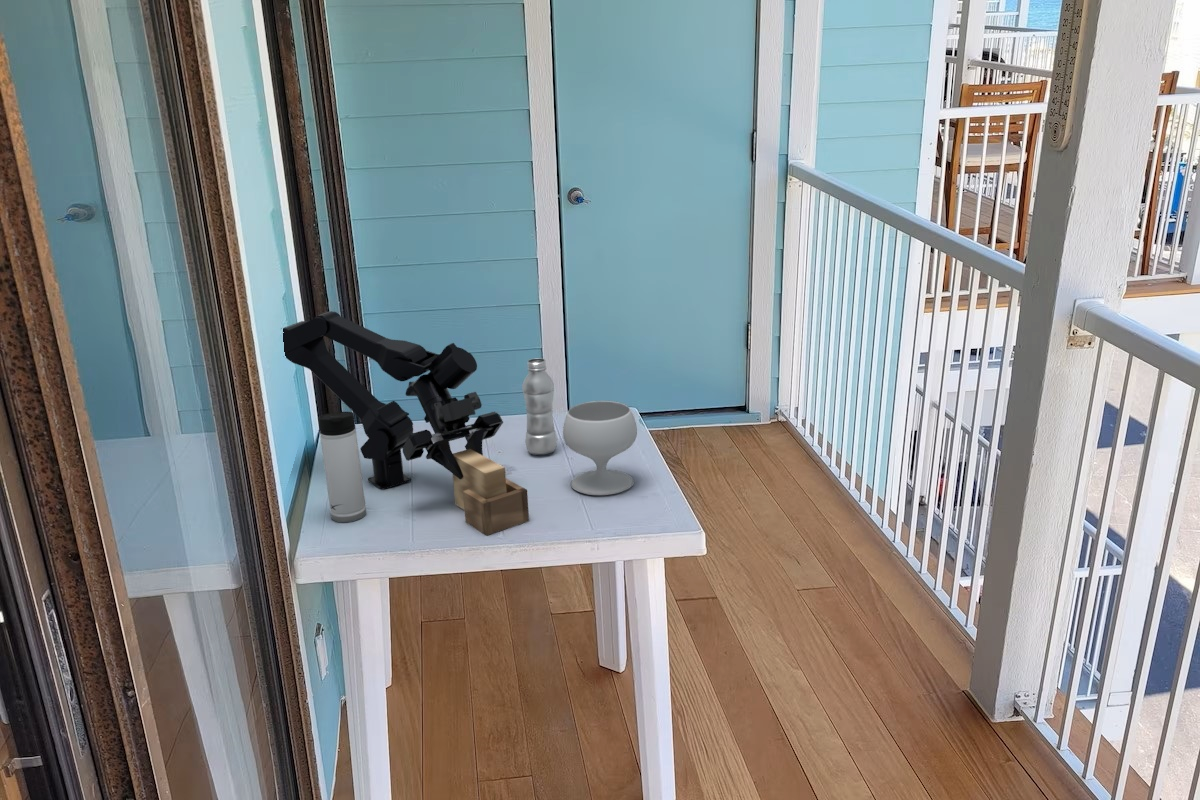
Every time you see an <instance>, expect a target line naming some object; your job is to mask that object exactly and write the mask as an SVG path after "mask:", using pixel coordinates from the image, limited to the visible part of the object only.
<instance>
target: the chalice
mask: <svg viewBox="0 0 1200 800" xmlns="http://www.w3.org/2000/svg"><path fill="white" fill-rule="evenodd" d="M637 436H638V426H637V421H636V418H635V416H634V413H633V412H632V410H631V408H630V407H629V406H628V405H627V404H624V403H622V402H618V401H610V400H595V401H587V402H583V403H582V402H581V403H579V404H576V405H574V406H572V407H571V408H569V409H568V411H567V413H566V415H565V418H564V422H563V427H562V438H563V441H564V444H565V445H566V446H567V447H568V448H569V449H570V450H571V451H573V452H574V453H576V454H578V455H580V456H584V457H586V458H589V459H590V460H592V461H593V462H594V463H595V465H596V469H594V470H590V471H589V470H588V471H586V472H582V473H580V474H578V475H577V476H575V477H574V478H572V480H571V482H570V487H571V489H572V490H574V491H576V492H578V493H580V494H585V495H590V496H610V495H616V494H620V493H622V492H626V491H627V490H629V489H630V488H631V487H633V485H634V483H635V481H634V478H633V476H631V475H630V474H628V473H625V472H623V471H620V470H613V469H607V466H608V463H609V461H610V460H611V459H612V458H615V457H616V456H618V455H620V454H621V453H625V451H628V449H630V448H631V447H632V446H633V445H634V443H635V442H636V438H637Z"/></svg>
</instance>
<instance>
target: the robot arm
mask: <svg viewBox="0 0 1200 800" xmlns="http://www.w3.org/2000/svg"><path fill="white" fill-rule="evenodd" d="M282 328H283V332H284V333H283V342H284V352H285V356H286V358H285V359H287V360H288V361H289V362H290V363H292V364H295V365H298V366H301V367H303V368H306V369H308V370H310V371H311V372H312V374H314V376H316V377H317V378H318V379H319V380H320V381H321V382H322V383H323V384H324V385H325V386H326V387H327V388H328V389H329V390H330V391H331V392H332V393H334V395H335V396H336V397H337V398H339V400H340V401H341V402H343V403H344V404H345V406H346V407H348V409H350V410H351V412H353V413H354V414H355V415H356V416H357V417H358V418H359V420H360V421H361V424H362V428H363V431H364V434H365V435H366V436H367V438H368V439H367V440H366V442H364V443H363V445H361V447H360V448H359V449H360V450H359V451H360V452H361V454H362V456H363V458H364V459H368V460H371V462H372V463H371V464H372V469H373V470H372V471H373V475H372V476H369V477H367V481H368V482H369V483H371V484H373V485H374V486H375V487H377V488H379V489H380V490H385V489H387V488H392V487H394V486H395V487H396V486H399V485H401V484H405V483H408V482H411V480H412V479H411V477H410V476H409V475H406V474H405V473H404V466H403V458H402V453H403V456H404V458H405V460H406V461H411V460H412V461H413V460H416V459H418V458H422V456H423V454H424V452H425V451H426V452H427V454H426V455H425V458H426V459H427V460H433V461H434V462H436V463H437V464H439V465H440V466H441V467H443V468H445V469H446V470H447V471H448V472H450V473H451V474H452V475H453V474H454V475H455V476H456V477H457V478H459V479H462V478H463V474H462V471H461V469H460V467H459V465H458V463H457V461H456V459H455V457H454V455H453V452H452V450H451V445H450V442H451V441H455V440H458V439H459V440H460V439H462V438H465V440H466V443H465V446H464V448H465V450H467V449H471V450H473V451H475V452H477V453H479V454H481V455H483V441H484V440H487V439H490V438H492V437H494V436H495V435H496V434H497V433H498V431H499V430H500V428H501V426H502V425H503V424H504V421H503V418H502V417H501V414H499V413H498V412H495V411H491V412H488V413H484V414H481V415H478V416H477V418H476V419H475V421H474V423H471V424H468V425H466V423H469V421H470V419H471V418H470V417H469V416H475V415H476V411H477V410H479V409H482V401H481V398H480V396H479V395H478V393H477V392H476V391H473V392H469V393H467V394H465V395H463V396H464V399H463V398H462V399H458V398H457V397H453V396H452V395H451V393H450V390H456V389H458V387H460V385H462V384H463V383H464V382H465V381H466V380H467V379H468V378H469V377H471V376H472V375H473V374H474V373H475V372H476V371H477V370H478V364H477V361H476V358H475V356H473V354H472V353H471V352H469V351H467V350H466V349H464V348H462V347H458V346H457V345H456V344H455V343H454V342H451V343H449V344H448V345H446V346H445V347H444V348H443V349H442V351H441V353H439V354H438V353H436V352H432V351H430V350H429V351H428V350H427V349H426V348H425V347H423V346H422V345H420V344H417V343H415V342H411V341H407V340H400V339H392V338H388V337H385V336H383V335H381V334H379V333H377V332H375V331H372V330H370V329H369V328H366V327H364V326H362V325H360V324H358V323H357V322H356V323H355V322H354V321H352V320H350V319H347V318H346V317H343V316H341V315H340V313H339V312H336V311H331V310H330V311H327V312H324V313H321V314H318V315H316V316H315V317H314V318H313V319H310V320H301V321H299V322H296V323H292V324H290V325H288V326H285V327H282ZM325 337H326V338H328V339H330V340H332V341H334V342H336V343H339V344H340V345H342V346H345V347H346V348H349V349H351V350H353V351H355V352H357V353H359V354H361V355H364V356H365V357H368V358H369V359H371V360H373V361H374V362H376V363H377V364H378V366H379V367H380V369H381V371H383V372H384V373H386V374H387V375H388V376H390V377H391V378H392V379H394V380H395V381H399V382H406V381H408V380H411V379H413V378H415V377H418V378H417V379H416V380H415V381H409V382H408V386H407V388H406V391H405V396H406V397H417V399H418V401H419V404H420V405H421V407H422V410H423V412H424V414H425V416H424V418H423V419H424V421H425V423H429V425H430V426H431V429H432V430H433V432H434V433H433V434H432V433H431V431H430V430H428V429H424V430H420V431H416V432H414V422H413V421H412V419H411V418H410V417H409V415H410V412H407V411H405V410H404V409H403V408H402V407H401V406H400V405H399V403H398V402H396V401H395V400H392V401H389V403H384V402H382V401H380V400H379V399H378V398H377V397H375V396H374V395H373V394H372V393H371V391H369V390H368V389H367V388H366V387H365V386H364V384H362V383H361V382H360V381H359V380H358V379H357V378H356V377H355V376H354V375H353V374H351V372H350V371H349V370H347V369H346V368H345V367H344V365H342V364H341V363H340V362H339V360H338V359H336V358H335V357H334V356H333V355H332V354H331V353H330V351H329V350H328V348H327V343H326V340H325ZM427 372H428V373H427ZM426 373H427V374H426ZM449 389H450V390H449ZM424 449H425V451H424ZM483 456H484V455H483Z"/></svg>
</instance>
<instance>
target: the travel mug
mask: <svg viewBox="0 0 1200 800" xmlns="http://www.w3.org/2000/svg"><path fill="white" fill-rule="evenodd" d="M354 414H355V413H354V412H353V411H340V412H337V413H336V412H335V413H329V412H327V413H325V414H322V415H321V414H320V415H318V416H317V420H318V427H319V436H320V437H319V438H320V446H321V452H322V462H323V467H324V472H325V473H324V474H325V482H326V489H327V496H328V502H329V503H328V505H329V511H330V517H331V519H332V520H333V521H334V522H338V523H351V522H356V521H359V520H360V519H362V518H364V517H365V516H366V514H367V507H366V497H365V489H364V483H363V474H362V468H361V459H360V458H361V457H360V452H359V451H360V450H359V443H358V435H357V427H356V422H355V415H354Z"/></svg>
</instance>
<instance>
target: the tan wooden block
mask: <svg viewBox="0 0 1200 800" xmlns="http://www.w3.org/2000/svg"><path fill="white" fill-rule="evenodd" d="M452 453H453V452H452ZM453 455H454V457H455V459H456V461H457V463H458V465H459V467H460V469H461V471H462V474H463V478H462V479H459V478H457V477H456V476H455V475H454V474H452V481H453V483H452V484H453V494H454V505H455V506H457V507H458V508H461V509H462V510H463V511H465V510H464V499H463V491H465V490H471V491H472V492H474V493H476V494H477V495H479V496H481V497H483V498H484V499H486V500H487V499H490V498H493V497H496V496H499V495H502V494H505V493H507V491H506V479H507V477H506V468H505V466H503V465H501V464H500V463H498V462H495V460H492V459H490V458H488V457H486V456H484V455H481V454H479V453H477V452H475V451H473V450H471V449H467V450H466V449H464V450H461V451H456V452H455V453H453Z"/></svg>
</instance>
